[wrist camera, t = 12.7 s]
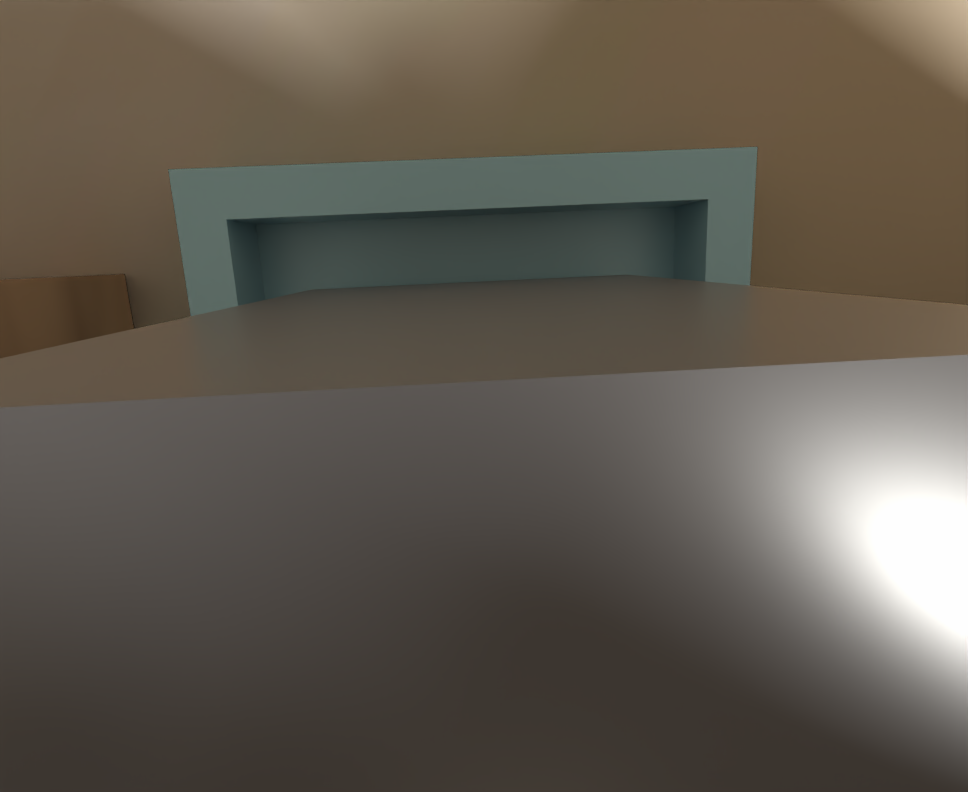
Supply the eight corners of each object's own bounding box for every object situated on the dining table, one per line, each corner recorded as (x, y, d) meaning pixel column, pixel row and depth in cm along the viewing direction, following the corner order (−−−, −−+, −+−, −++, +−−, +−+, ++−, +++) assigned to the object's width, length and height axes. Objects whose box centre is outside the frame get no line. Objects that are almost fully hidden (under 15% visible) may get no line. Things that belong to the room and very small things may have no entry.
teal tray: (296, 773, 18) (273, 853, 16) (216, 184, 14) (167, 169, 12) (686, 742, 19) (720, 814, 16) (707, 165, 15) (757, 147, 12)
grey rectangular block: (361, 750, 16) (175, 1775, 5) (311, 289, 13) (-293, 422, 2) (622, 728, 16) (962, 1651, 5) (626, 274, 13) (1315, 334, 3)
